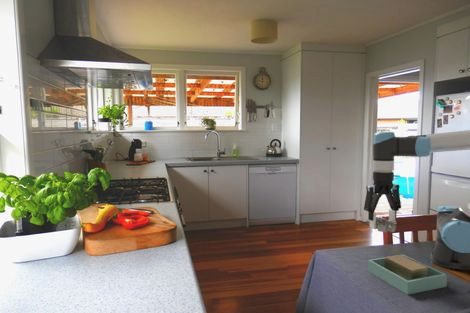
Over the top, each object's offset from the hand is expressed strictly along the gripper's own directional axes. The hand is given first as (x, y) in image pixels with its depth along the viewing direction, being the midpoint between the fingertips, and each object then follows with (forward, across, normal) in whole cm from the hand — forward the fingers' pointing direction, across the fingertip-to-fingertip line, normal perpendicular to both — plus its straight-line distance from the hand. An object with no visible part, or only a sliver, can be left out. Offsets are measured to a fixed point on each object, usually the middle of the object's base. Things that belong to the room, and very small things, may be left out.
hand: (382, 227), depth 127 cm
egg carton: (+1, 0, 0) cm, 1 cm away
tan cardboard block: (+14, +2, +14) cm, 20 cm away
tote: (+15, +2, +14) cm, 21 cm away
